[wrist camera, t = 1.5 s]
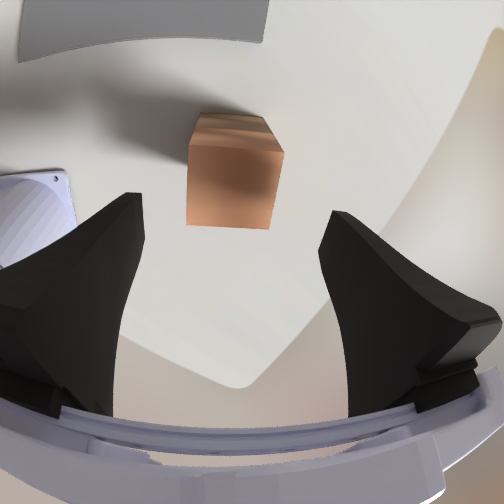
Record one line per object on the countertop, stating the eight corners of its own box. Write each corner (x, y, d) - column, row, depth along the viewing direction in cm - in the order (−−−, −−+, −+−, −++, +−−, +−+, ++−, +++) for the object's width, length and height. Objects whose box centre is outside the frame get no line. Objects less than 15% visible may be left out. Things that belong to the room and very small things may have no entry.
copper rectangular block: (196, 168, 19) (186, 225, 13) (200, 112, 16) (188, 144, 11) (254, 172, 19) (268, 229, 14) (263, 117, 17) (284, 152, 11)
